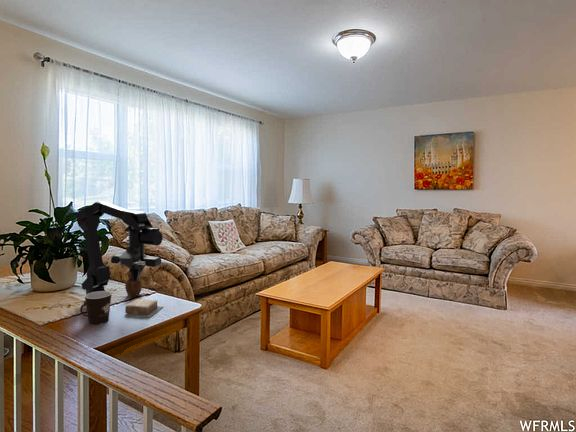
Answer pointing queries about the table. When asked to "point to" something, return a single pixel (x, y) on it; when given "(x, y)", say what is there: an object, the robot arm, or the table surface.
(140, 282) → the wooden figurine
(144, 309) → the wooden block
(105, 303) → the coffee mug
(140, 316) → the rubber mat
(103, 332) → the table surface
